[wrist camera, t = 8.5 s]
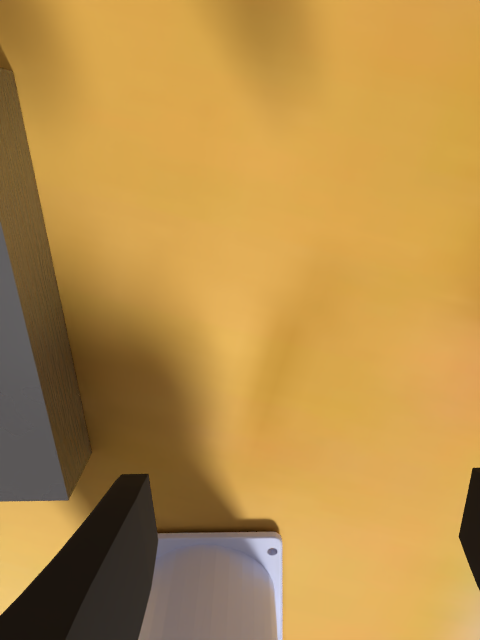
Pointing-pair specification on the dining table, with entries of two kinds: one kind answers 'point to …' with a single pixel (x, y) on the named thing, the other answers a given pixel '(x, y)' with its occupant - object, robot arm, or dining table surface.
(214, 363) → the dining table surface
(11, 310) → the gray block with hole
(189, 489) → the dining table surface
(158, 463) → the dining table surface
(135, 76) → the dining table surface
